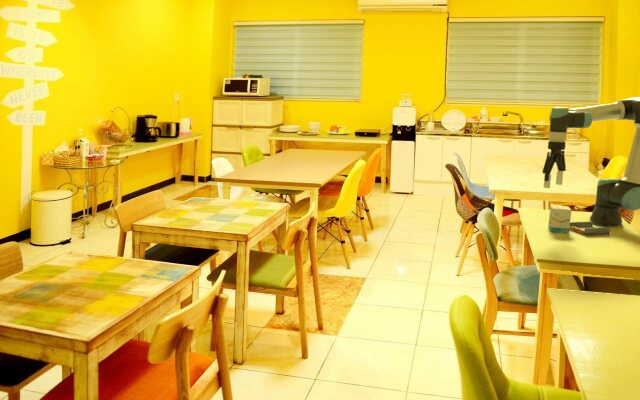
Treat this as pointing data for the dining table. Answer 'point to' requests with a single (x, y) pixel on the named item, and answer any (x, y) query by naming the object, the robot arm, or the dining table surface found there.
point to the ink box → (559, 219)
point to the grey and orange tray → (588, 228)
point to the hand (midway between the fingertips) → (552, 186)
